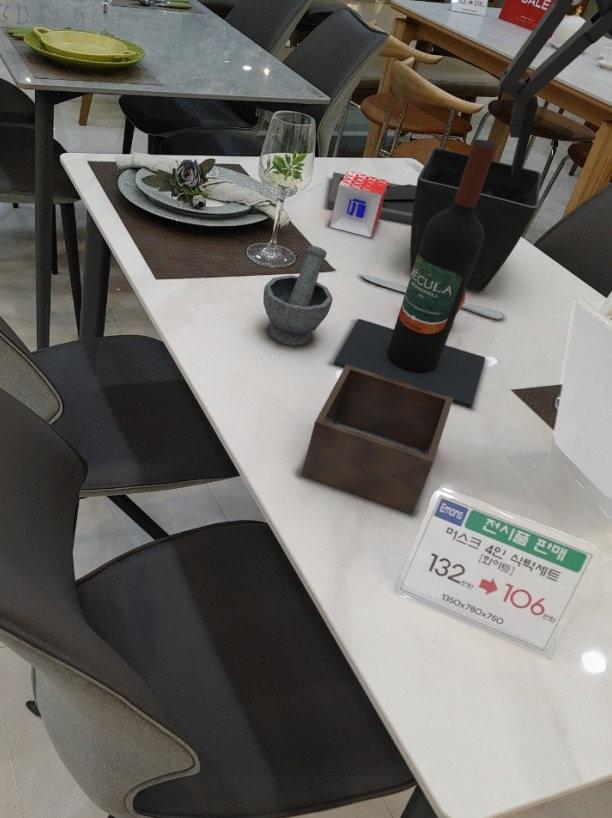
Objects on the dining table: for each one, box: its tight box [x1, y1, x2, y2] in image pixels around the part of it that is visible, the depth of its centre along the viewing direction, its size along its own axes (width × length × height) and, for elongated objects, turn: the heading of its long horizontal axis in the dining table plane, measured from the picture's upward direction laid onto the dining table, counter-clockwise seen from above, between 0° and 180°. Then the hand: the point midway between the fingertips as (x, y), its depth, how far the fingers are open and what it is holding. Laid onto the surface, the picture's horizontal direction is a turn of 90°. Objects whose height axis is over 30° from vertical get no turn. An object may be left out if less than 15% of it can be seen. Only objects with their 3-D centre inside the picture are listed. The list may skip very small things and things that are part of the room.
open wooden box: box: [301, 364, 453, 515], centre depth 91 cm, size 14×14×8 cm
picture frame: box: [327, 171, 417, 225], centre depth 155 cm, size 16×2×21 cm
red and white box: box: [329, 170, 389, 238], centre depth 144 cm, size 8×8×8 cm
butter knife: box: [362, 274, 504, 320], centre depth 128 cm, size 1×24×3 cm
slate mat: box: [333, 318, 486, 409], centre depth 112 cm, size 20×14×1 cm
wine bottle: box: [387, 139, 498, 373], centre depth 102 cm, size 8×8×30 cm
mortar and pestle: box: [262, 245, 334, 347], centre depth 110 cm, size 11×9×12 cm
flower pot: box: [409, 147, 542, 293], centre depth 131 cm, size 19×19×17 cm
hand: (587, 178), depth 75 cm, fingers open, 13 cm apart
